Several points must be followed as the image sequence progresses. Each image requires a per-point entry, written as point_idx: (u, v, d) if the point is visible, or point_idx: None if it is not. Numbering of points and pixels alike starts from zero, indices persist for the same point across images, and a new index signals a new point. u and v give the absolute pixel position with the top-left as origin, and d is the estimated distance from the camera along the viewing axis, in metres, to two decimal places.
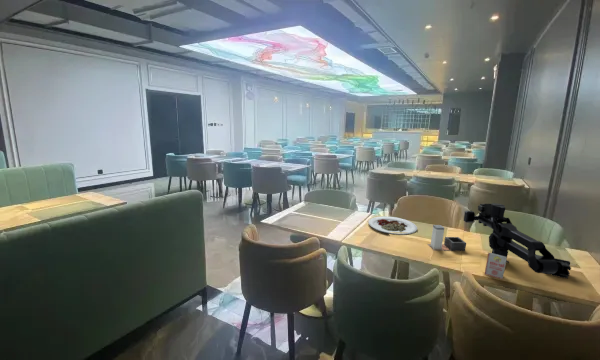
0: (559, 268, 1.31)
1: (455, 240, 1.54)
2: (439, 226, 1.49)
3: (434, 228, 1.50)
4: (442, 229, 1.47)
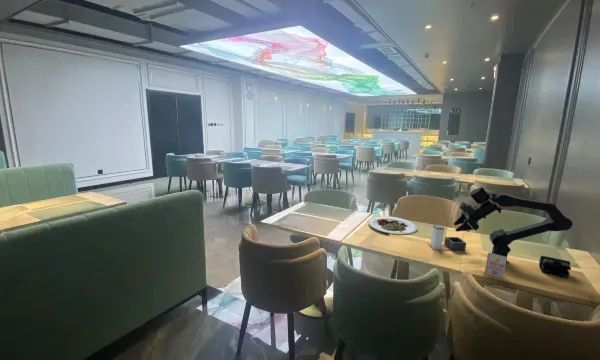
0: (559, 268, 1.31)
1: (455, 240, 1.54)
2: (439, 226, 1.49)
3: (434, 228, 1.50)
4: (442, 229, 1.47)
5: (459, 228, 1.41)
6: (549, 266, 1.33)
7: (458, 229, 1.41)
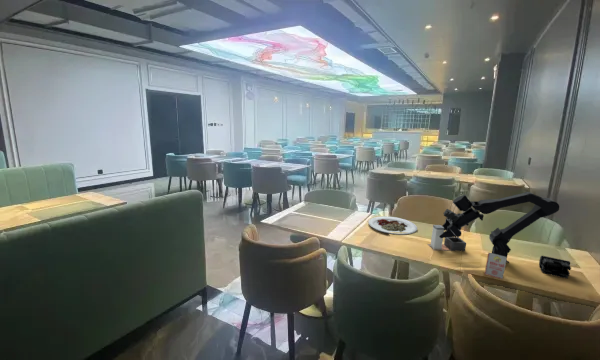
0: (559, 268, 1.31)
1: (455, 240, 1.54)
2: (439, 226, 1.49)
3: (434, 228, 1.50)
4: (442, 229, 1.47)
5: (442, 235, 1.44)
6: (549, 266, 1.33)
7: (442, 236, 1.45)
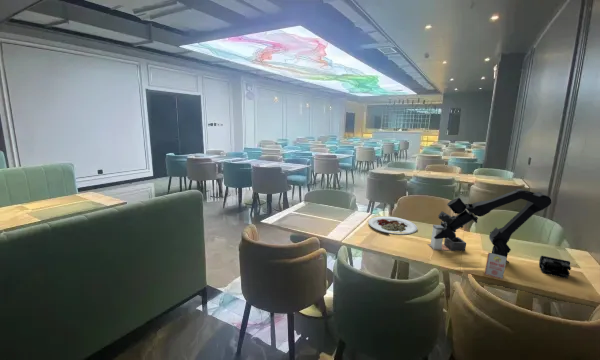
0: (559, 268, 1.31)
1: (455, 240, 1.54)
2: (439, 226, 1.49)
3: (434, 228, 1.50)
4: None
5: (437, 236, 1.47)
6: (549, 266, 1.33)
7: (436, 237, 1.47)
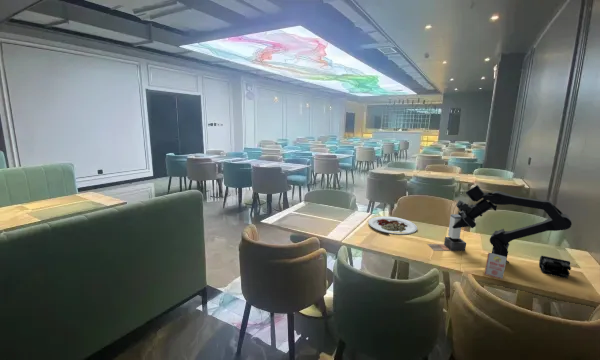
0: (559, 268, 1.31)
1: (455, 240, 1.54)
2: (457, 215, 1.48)
3: (452, 217, 1.48)
4: None
5: (456, 225, 1.46)
6: (549, 266, 1.33)
7: (455, 226, 1.46)
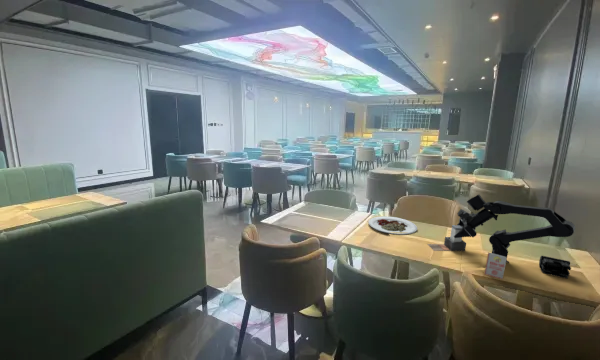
0: (559, 268, 1.31)
1: None
2: (458, 226, 1.49)
3: (453, 228, 1.50)
4: (461, 229, 1.48)
5: (457, 235, 1.46)
6: (549, 266, 1.33)
7: (456, 236, 1.46)
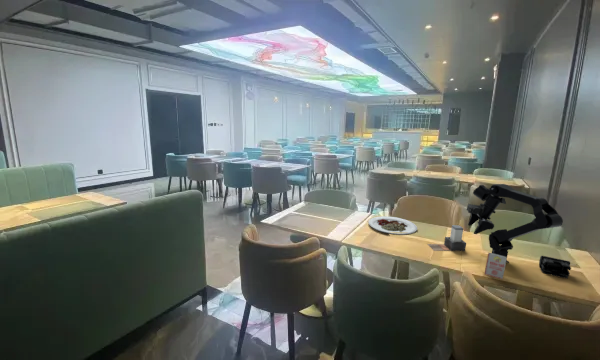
0: (559, 268, 1.31)
1: None
2: (458, 226, 1.49)
3: (453, 228, 1.50)
4: (461, 229, 1.48)
5: (476, 231, 1.45)
6: (549, 266, 1.33)
7: (476, 232, 1.45)
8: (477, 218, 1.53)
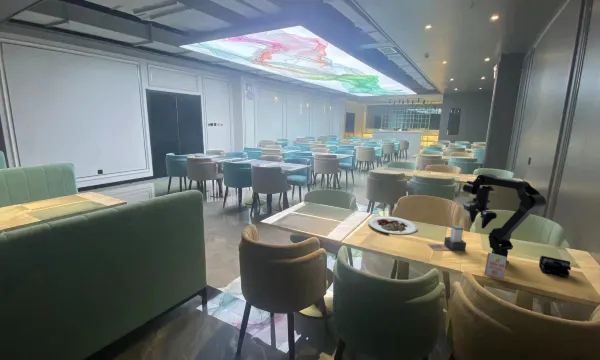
0: (559, 268, 1.31)
1: None
2: (458, 226, 1.49)
3: (453, 228, 1.50)
4: (461, 229, 1.48)
5: (483, 225, 1.47)
6: (549, 266, 1.33)
7: (483, 226, 1.47)
8: (476, 212, 1.56)
